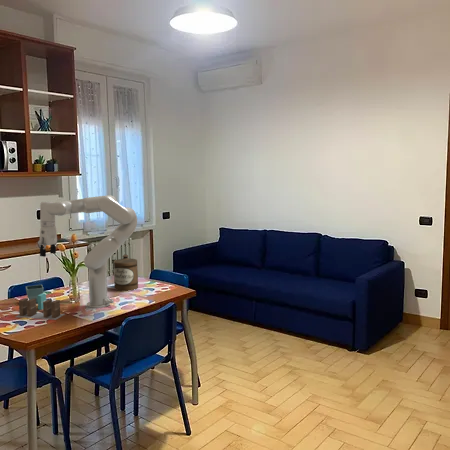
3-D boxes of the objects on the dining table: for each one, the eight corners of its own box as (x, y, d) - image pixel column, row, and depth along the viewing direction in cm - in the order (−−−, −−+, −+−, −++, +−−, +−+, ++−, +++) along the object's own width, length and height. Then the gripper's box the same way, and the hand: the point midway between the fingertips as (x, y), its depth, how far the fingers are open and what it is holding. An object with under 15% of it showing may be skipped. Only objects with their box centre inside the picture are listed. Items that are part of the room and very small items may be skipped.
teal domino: (46, 307, 255) (45, 293, 254) (41, 310, 250) (40, 295, 249) (43, 307, 256) (42, 293, 255) (37, 310, 251) (37, 295, 250)
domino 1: (28, 313, 244) (28, 298, 243) (23, 316, 239) (22, 301, 238) (25, 313, 244) (24, 298, 243) (19, 315, 239) (18, 300, 238)
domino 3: (52, 314, 242) (51, 299, 241) (47, 317, 237) (46, 302, 236) (48, 314, 242) (48, 299, 241) (43, 317, 237) (42, 302, 236)
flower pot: (27, 305, 260) (26, 289, 259) (26, 301, 267) (25, 286, 266) (44, 303, 264) (43, 287, 263) (42, 299, 271) (41, 284, 270)
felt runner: (65, 314, 243) (65, 314, 243) (56, 320, 234) (56, 319, 234) (24, 312, 246) (24, 311, 246) (14, 317, 238) (14, 317, 238)
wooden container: (110, 290, 293) (109, 256, 290) (120, 284, 307) (120, 252, 304) (132, 291, 289) (131, 257, 287) (141, 286, 304) (141, 253, 301)
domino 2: (36, 313, 243) (35, 298, 242) (31, 316, 238) (30, 301, 237) (33, 313, 244) (32, 298, 243) (27, 316, 239) (26, 301, 238)
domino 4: (60, 315, 241) (59, 300, 240) (55, 318, 236) (54, 302, 235) (56, 315, 241) (56, 300, 240) (51, 317, 236) (51, 302, 235)
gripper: (45, 226, 245) (45, 258, 247) (62, 222, 262) (62, 252, 264) (32, 225, 246) (32, 257, 248) (50, 222, 263) (50, 251, 265)
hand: (48, 254), depth 256 cm, fingers open, 9 cm apart
